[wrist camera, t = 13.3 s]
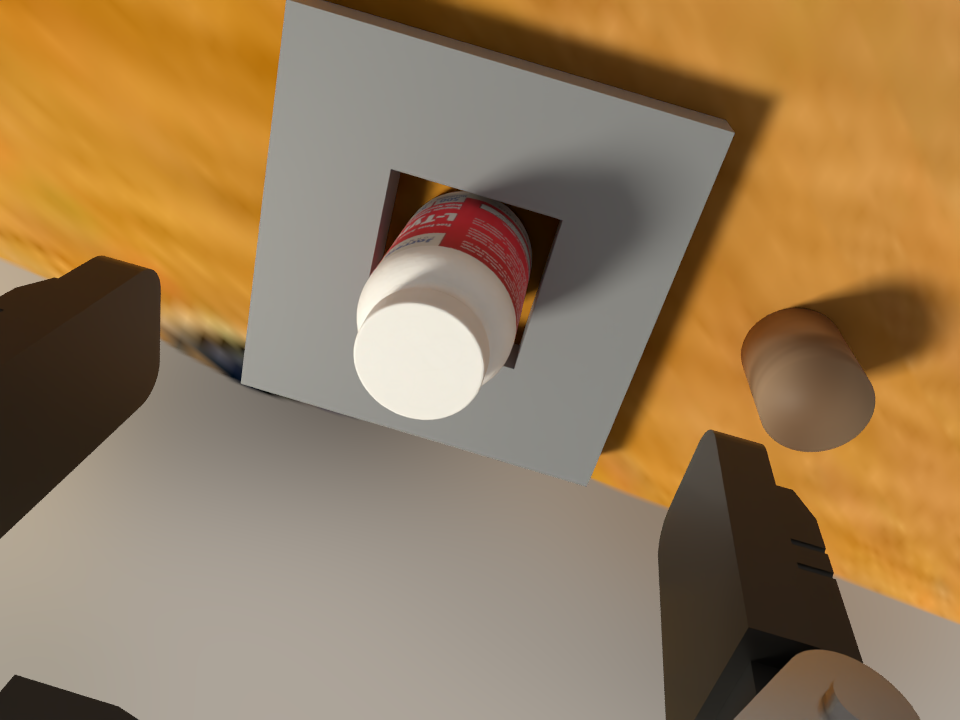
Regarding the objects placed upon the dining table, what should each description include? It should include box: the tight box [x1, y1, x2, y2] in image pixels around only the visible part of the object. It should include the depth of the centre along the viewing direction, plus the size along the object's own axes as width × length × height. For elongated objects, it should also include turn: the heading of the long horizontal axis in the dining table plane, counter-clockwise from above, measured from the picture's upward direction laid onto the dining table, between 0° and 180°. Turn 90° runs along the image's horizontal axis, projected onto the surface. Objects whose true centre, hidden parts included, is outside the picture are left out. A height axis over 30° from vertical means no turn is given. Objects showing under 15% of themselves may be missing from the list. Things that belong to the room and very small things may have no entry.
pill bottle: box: [354, 191, 532, 420], centre depth 31 cm, size 6×6×11 cm
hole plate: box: [241, 0, 735, 486], centre depth 35 cm, size 18×18×2 cm
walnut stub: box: [741, 308, 875, 452], centre depth 34 cm, size 4×4×5 cm
